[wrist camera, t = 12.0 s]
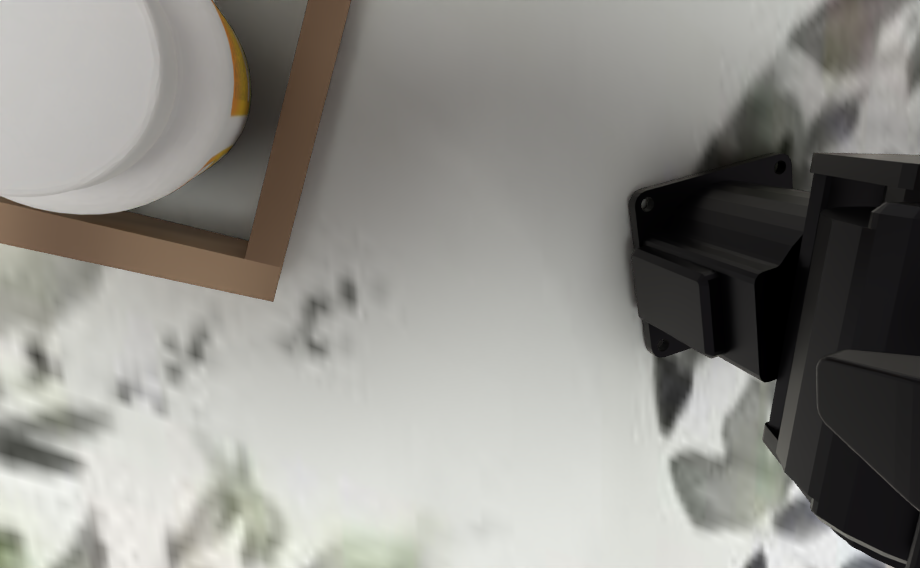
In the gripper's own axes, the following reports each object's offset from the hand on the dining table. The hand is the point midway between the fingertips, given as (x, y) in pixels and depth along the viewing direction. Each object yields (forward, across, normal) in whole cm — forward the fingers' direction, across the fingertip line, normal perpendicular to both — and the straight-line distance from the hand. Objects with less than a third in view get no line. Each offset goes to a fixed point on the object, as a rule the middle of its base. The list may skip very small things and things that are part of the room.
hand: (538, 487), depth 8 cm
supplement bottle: (+13, +5, -7) cm, 16 cm away
